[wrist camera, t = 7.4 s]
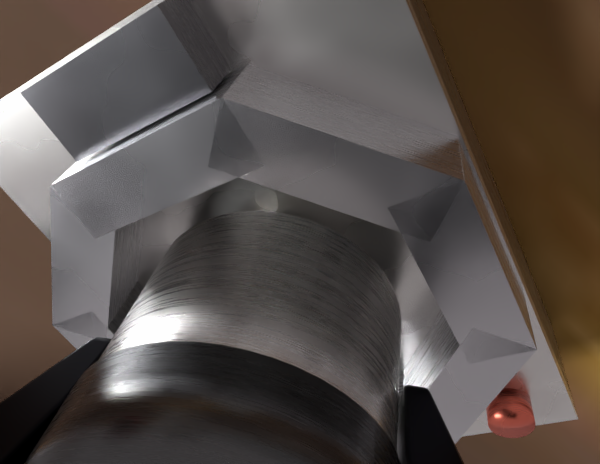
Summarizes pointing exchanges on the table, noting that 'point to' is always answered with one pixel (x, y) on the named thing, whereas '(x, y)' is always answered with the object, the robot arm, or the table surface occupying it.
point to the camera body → (288, 179)
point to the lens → (244, 356)
